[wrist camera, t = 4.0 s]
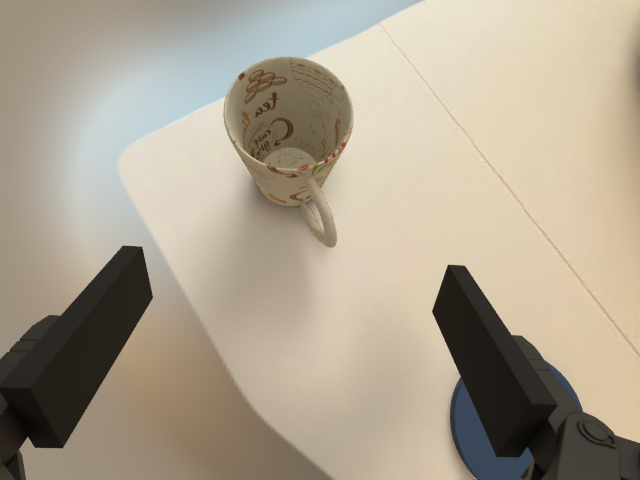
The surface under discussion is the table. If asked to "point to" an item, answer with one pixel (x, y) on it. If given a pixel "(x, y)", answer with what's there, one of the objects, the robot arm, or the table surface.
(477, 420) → the coaster
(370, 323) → the table surface
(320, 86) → the mug
